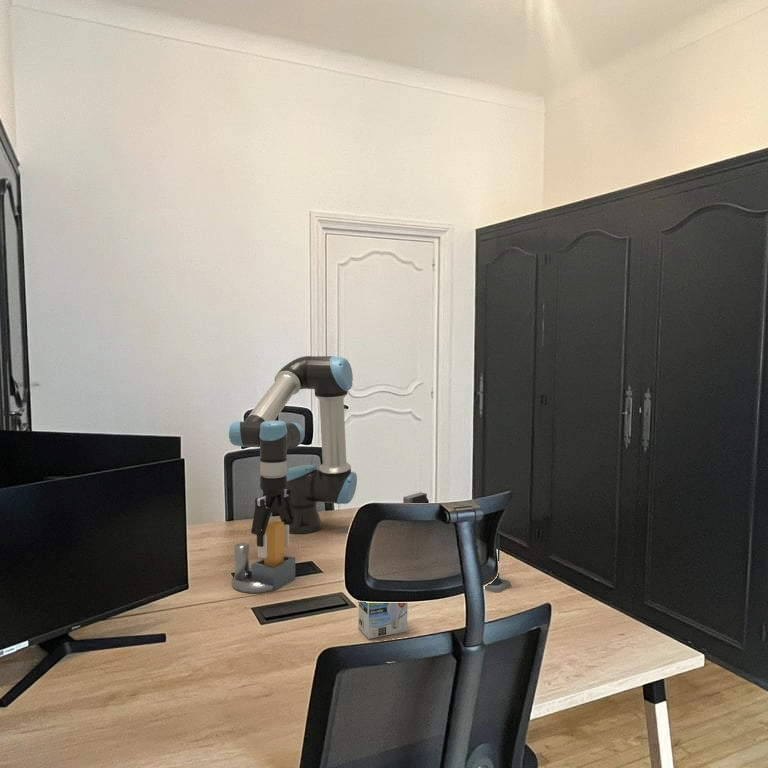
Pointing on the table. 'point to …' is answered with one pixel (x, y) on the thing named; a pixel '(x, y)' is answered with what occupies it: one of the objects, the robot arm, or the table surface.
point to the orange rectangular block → (274, 543)
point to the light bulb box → (382, 618)
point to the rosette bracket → (260, 573)
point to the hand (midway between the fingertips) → (273, 551)
